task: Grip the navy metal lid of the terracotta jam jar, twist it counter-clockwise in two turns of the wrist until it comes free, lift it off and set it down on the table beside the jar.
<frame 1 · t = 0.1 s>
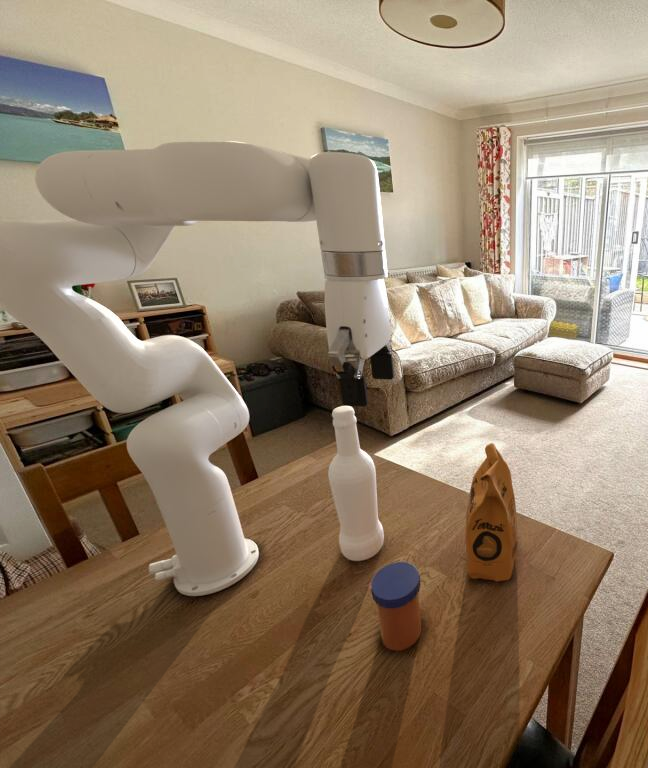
hand: (370, 390, 57), 37 cm above the table, tool pointing down, fingers open, 9 cm apart
coffee package: (490, 558, 77), on the table
bottle: (363, 548, 79), on the table
jar: (401, 632, 63), on the table
lid: (395, 581, 59), point 10 cm above the table, screwed on, not yet turned
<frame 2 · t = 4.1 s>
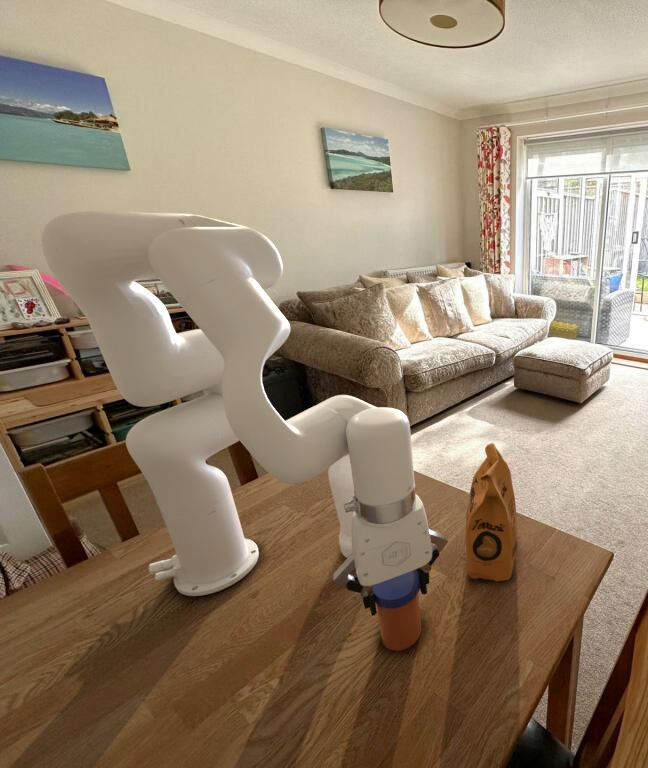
hand: (397, 596, 60), 8 cm above the table, tool pointing down, fingers closed on lid, 6 cm apart
lid: (395, 581, 59), point 10 cm above the table, screwed on, not yet turned, touching gripper
everything else where it was.
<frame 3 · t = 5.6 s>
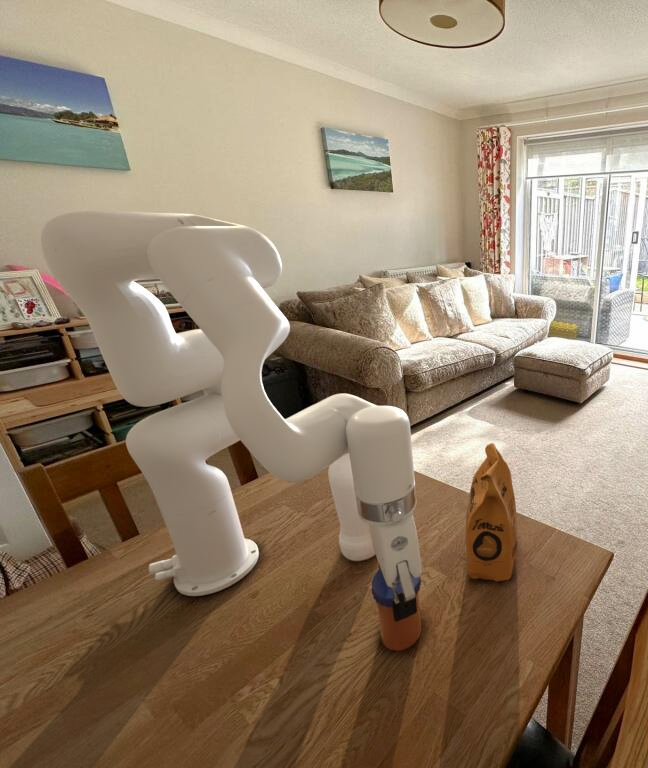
hand: (398, 595, 60), 8 cm above the table, tool pointing down, fingers closed on lid, 6 cm apart
lid: (396, 580, 59), point 11 cm above the table, turned 91° so far, risen 0.2 cm, still on its thread, touching gripper
everything else where it was.
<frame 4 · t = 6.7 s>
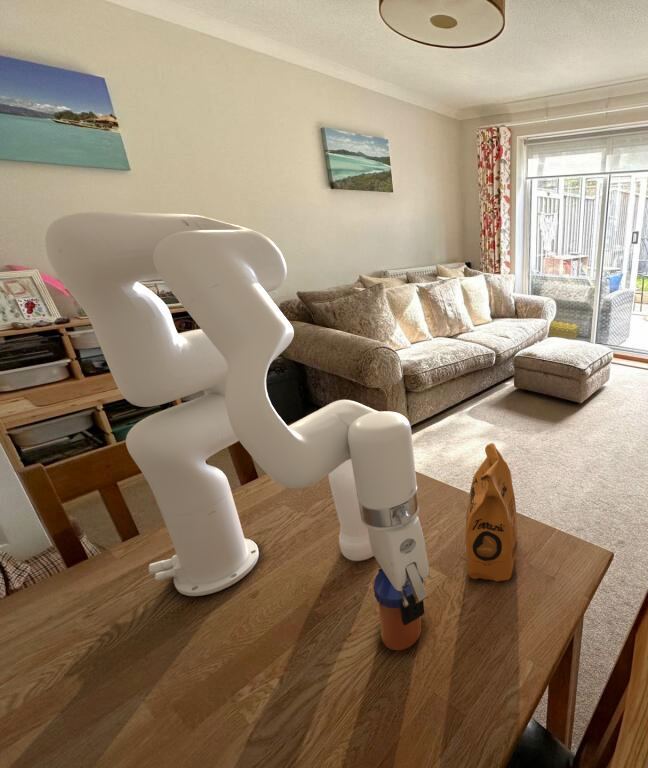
hand: (402, 600, 60), 7 cm above the table, tool pointing down, fingers closed on lid, 6 cm apart
jar: (401, 631, 63), on the table, touching gripper
lid: (398, 581, 59), point 11 cm above the table, turned 100° so far, risen 0.2 cm, still on its thread, touching gripper
everything else where it was.
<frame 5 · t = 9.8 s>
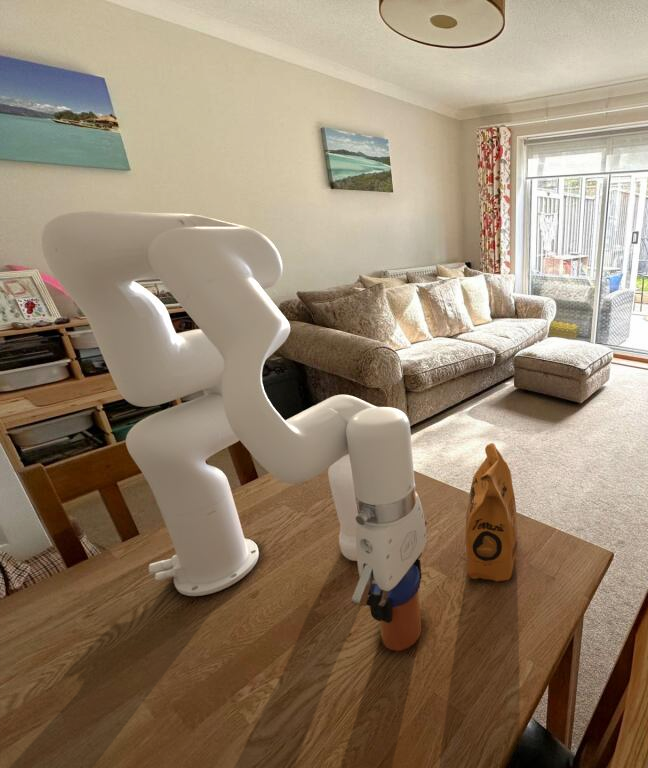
hand: (397, 596, 60), 8 cm above the table, tool pointing down, fingers closed on lid, 6 cm apart
jar: (401, 631, 63), on the table
lid: (395, 580, 59), point 11 cm above the table, turned 141° so far, risen 0.4 cm, still on its thread, touching gripper
everything else where it was.
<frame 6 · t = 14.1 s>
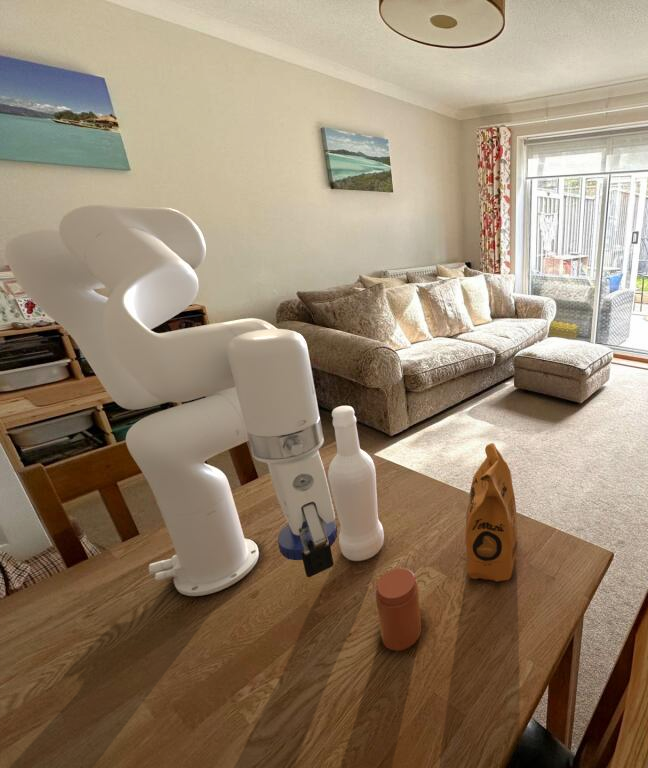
hand: (312, 552, 54), 18 cm above the table, tool pointing down, fingers closed on lid, 6 cm apart
lid: (307, 532, 53), point 21 cm above the table, off its thread, touching gripper
everything else where it was.
when the fingers open (0 cm above the table, at t = 19.3 s): lid drops 2 cm, point 1 cm above the table.
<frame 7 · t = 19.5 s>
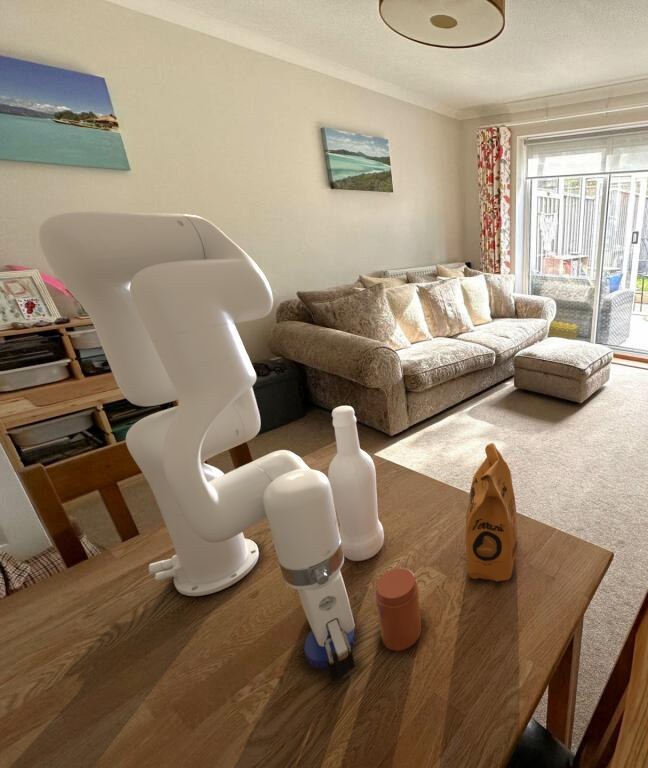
hand: (332, 646, 60), 0 cm above the table, tool pointing down, fingers open, 9 cm apart
lid: (329, 639, 60), point 1 cm above the table, off its thread
everything else where it was.
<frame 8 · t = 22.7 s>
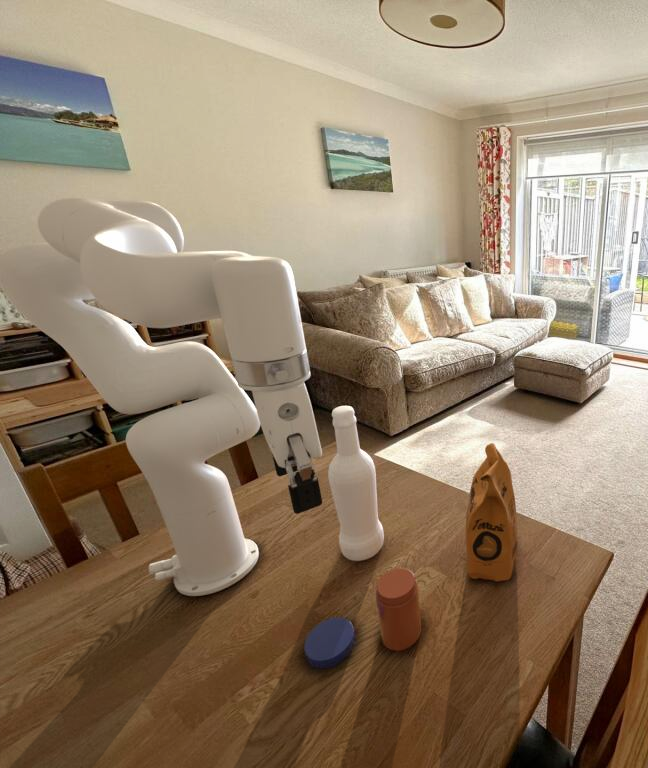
hand: (298, 489, 53), 26 cm above the table, tool pointing down, fingers open, 9 cm apart
nothing on the table moved.
at the end: lid came off its thread; lid point 1.3 cm above the table; the gripper is holding nothing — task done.
